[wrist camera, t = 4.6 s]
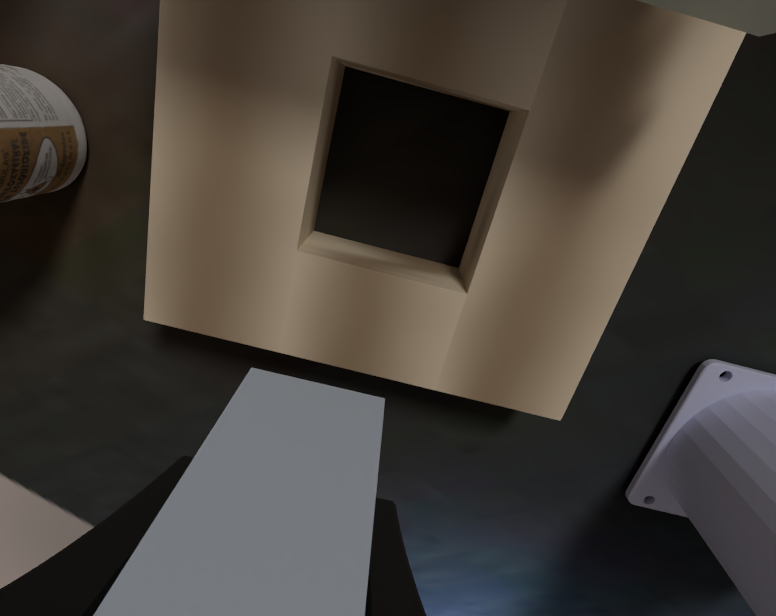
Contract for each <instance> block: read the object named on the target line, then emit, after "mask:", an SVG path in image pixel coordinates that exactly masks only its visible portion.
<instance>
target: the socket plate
mask: <svg viewBox="0 0 776 616" xmlns="http://www.w3.org/2000/svg"><path fill="white" fill-rule="evenodd" d="M745 34H746V32H742V31H739V30H736V29H732V28H729V27H725V26H722V25H719V24H715V23H712V22H708V21H705V20H702V19H698V18H695V17H691V16H688V15H685V14H681V13H678V12H674V11H671V10H668V9H664V8H661V7H657V6H654V5H651V4H647V3H644V2H640V1H637V0H160V13H159V32H158V52H157V71H156V91H155V110H154V129H153V149H152V168H151V187H150V207H149V226H148V246H147V265H146V284H145V304H144V320H147V321H151V322H155V323H159V324H163V325H167V326H171V327H175V328H180V329H184V330H188V331H192V332H196V333H200V334H204V335H209V336H213V337H217V338H221V339H225V340H229V341H233V342H237V343H242V344H246V345H250V346H254V347H258V348H262V349H266V350H271V351H275V352H279V353H283V354H287V355H291V356H295V357H299V358H304V359H308V360H312V361H316V362H320V363H324V364H328V365H332V366H337V367H341V368H345V369H349V370H353V371H357V372H361V373H366V374H370V375H374V376H378V377H382V378H386V379H390V380H394V381H399V382H403V383H407V384H411V385H415V386H419V387H423V388H428V389H432V390H436V391H440V392H444V393H448V394H452V395H456V396H461V397H465V398H469V399H473V400H477V401H481V402H485V403H489V404H494V405H498V406H502V407H506V408H510V409H514V410H518V411H523V412H527V413H531V414H535V415H539V416H543V417H547V418H551V419H556V420H560V421H561V419H562V417H563V415H564V413H565V411H566V408H567V406H568V404H569V402H570V400H571V398H572V396H573V394H574V392H575V390H576V388H577V385H578V383H579V381H580V379H581V377H582V375H583V373H584V371H585V369H586V367H587V365H588V362H589V360H590V358H591V356H592V354H593V352H594V350H595V348H596V346H597V344H598V342H599V339H600V337H601V335H602V333H603V331H604V329H605V327H606V325H607V323H608V321H609V319H610V316H611V314H612V312H613V310H614V308H615V306H616V304H617V302H618V300H619V298H620V296H621V293H622V291H623V289H624V287H625V285H626V283H627V281H628V279H629V277H630V275H631V273H632V270H633V268H634V266H635V264H636V262H637V260H638V258H639V256H640V254H641V252H642V250H643V247H644V245H645V243H646V241H647V239H648V237H649V235H650V233H651V231H652V229H653V227H654V224H655V222H656V220H657V218H658V216H659V214H660V212H661V210H662V208H663V206H664V204H665V201H666V199H667V197H668V195H669V193H670V191H671V189H672V187H673V185H674V183H675V181H676V178H677V176H678V174H679V172H680V170H681V168H682V166H683V164H684V162H685V160H686V158H687V155H688V153H689V151H690V149H691V147H692V145H693V143H694V141H695V139H696V137H697V135H698V132H699V130H700V128H701V126H702V124H703V122H704V120H705V118H706V116H707V114H708V112H709V110H710V107H711V105H712V103H713V101H714V99H715V97H716V95H717V93H718V91H719V89H720V87H721V84H722V82H723V80H724V78H725V76H726V74H727V72H728V70H729V68H730V66H731V64H732V61H733V59H734V57H735V55H736V53H737V51H738V49H739V47H740V45H741V43H742V41H743V38H744V36H745ZM345 66H347V67H350V68H354V69H357V70H361V71H365V72H368V73H372V74H376V75H379V76H383V77H386V78H390V79H394V80H397V81H401V82H404V83H408V84H412V85H415V86H419V87H423V88H426V89H430V90H433V91H437V92H441V93H444V94H448V95H451V96H455V97H459V98H462V99H466V100H470V101H473V102H477V103H480V104H484V105H488V106H491V107H495V108H498V109H502V110H506V111H509V112H510V113H509V116H508V119H507V122H506V125H505V128H504V131H503V134H502V137H501V140H500V143H499V146H498V150H497V153H496V156H495V159H494V162H493V165H492V168H491V171H490V174H489V177H488V180H487V183H486V186H485V189H484V193H483V196H482V199H481V202H480V205H479V208H478V211H477V214H476V217H475V220H474V223H473V226H472V229H471V233H470V236H469V239H468V242H467V245H466V248H465V251H464V254H463V257H462V260H461V263H460V266H459V268H457V267H453V266H449V265H445V264H441V263H437V262H433V261H430V260H426V259H422V258H418V257H414V256H410V255H406V254H402V253H398V252H394V251H391V250H387V249H383V248H379V247H375V246H371V245H367V244H363V243H359V242H356V241H352V240H348V239H344V238H340V237H336V236H332V235H328V234H324V233H321V232H317V231H314V227H315V222H316V216H317V211H318V206H319V201H320V195H321V190H322V185H323V180H324V175H325V169H326V164H327V159H328V154H329V149H330V143H331V138H332V133H333V128H334V123H335V117H336V112H337V107H338V102H339V96H340V91H341V86H342V81H343V76H344V70H345Z"/></svg>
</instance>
